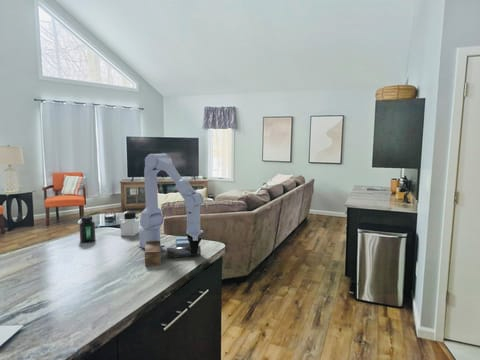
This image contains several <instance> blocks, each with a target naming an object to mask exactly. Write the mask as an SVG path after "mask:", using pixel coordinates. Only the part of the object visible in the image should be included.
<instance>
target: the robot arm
mask: <svg viewBox="0 0 480 360" xmlns="http://www.w3.org/2000/svg"><path fill="white" fill-rule="evenodd" d="M144 165H145V166H144V171H143V173H144V174H143V175H144V198H145V199H144V200H145V202H144V203H145V208H144V209H143V210H142V211H141V214H140V219H139V225H140V226H141V228H140V229H139V233H138V235H139V236H138V239H139V241H138V243H139V245H137V246H138V247H139V248H142V249H145V247H146V242H147V241H160V242H161V227H162V225H163V223H164V216H163V211H162V209H160V208H159V203H158V202H159V200H158V199H159V198H158V174H159V172H160V171H164V172H166V174H167V175H168V176H169V178H170V179H172V181H173V182H174V183H175V189H176V190H177V192H178V193H179V194H180V196H181V197H182V198H183V204H184V206H185V210H186V236H187V237H188V241H189V244H190V247H191V253H192V254H197V251H198V246H200V243H201V241H202V237H200V235H201V234H203V233H204V230H202V229H201V205H202V204H203V203H204V202H203V201H204V198H203V196H202V193H200V192H198V191H196V190H195V189H194V188H193V187H192V185H191V184H190V181H189V180H187V179H184V178H182V176H181V174H180V173H179V171H178V170H177V168H176V167H175V165H174V163H173V159H172V158H171V156H170V155H169V154H168V153H166V152H165V153H164V152H163V153H149V154H147V156H146V157H145V158H144ZM164 246H165V244H163V243H160V247H164Z"/></svg>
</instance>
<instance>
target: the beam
mask: <svg viewBox="0 0 480 360" xmlns="http://www.w3.org/2000/svg"><path fill="white" fill-rule="evenodd" d="M160 244H161V240H160V241H147V242H146V247H145V248H144V266H145V267H146V266H147V267H149V266H157V265H158V266H159V265H162V264H161V263H162V261H161V259H162V258H161V256H162V255H161V253H162V251H161V247H160Z"/></svg>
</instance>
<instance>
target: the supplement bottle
mask: <svg viewBox="0 0 480 360" xmlns="http://www.w3.org/2000/svg"><path fill="white" fill-rule="evenodd" d="M80 221H81V222H80V223H79V224H78V225H79V241H80V243H83V244H84V243H92V242H95V240H96V223H95V222H94V221H93V216H92V215H85V216H81V219H80Z"/></svg>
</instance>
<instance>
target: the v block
mask: <svg viewBox="0 0 480 360" xmlns="http://www.w3.org/2000/svg"><path fill="white" fill-rule="evenodd" d="M176 247H190V244H189V241H188V237H187V235H186V236H175V248H176Z"/></svg>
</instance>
